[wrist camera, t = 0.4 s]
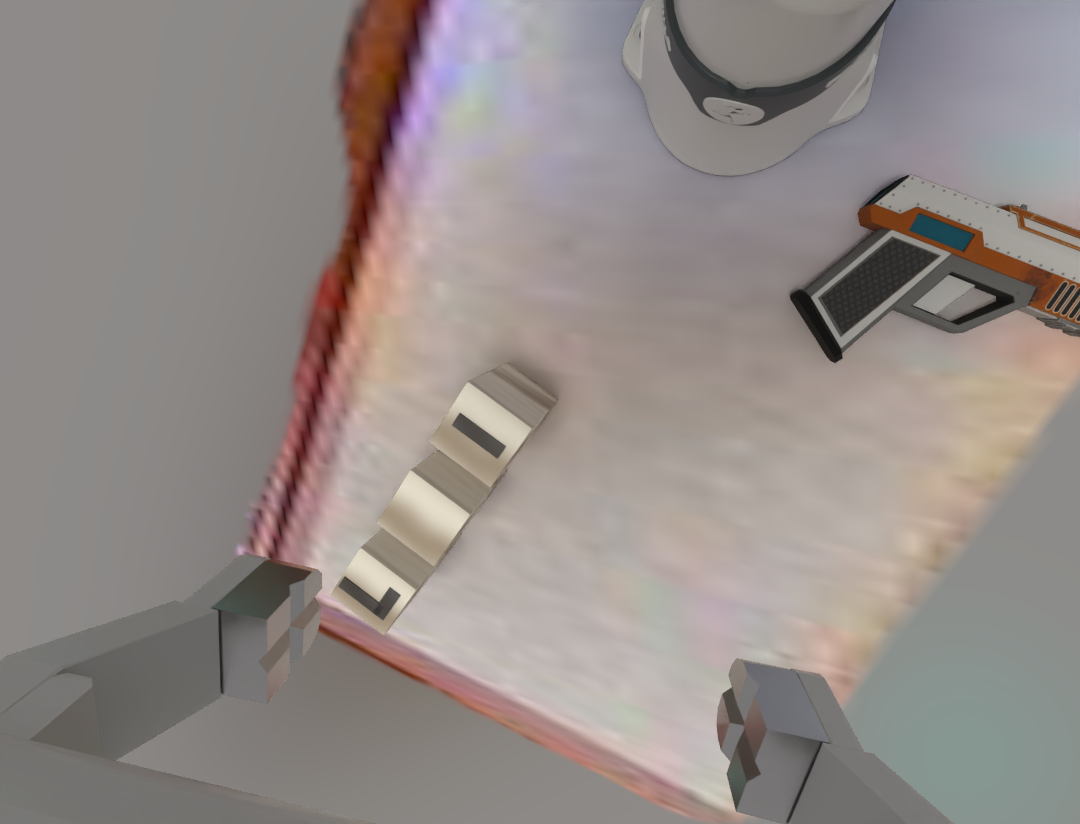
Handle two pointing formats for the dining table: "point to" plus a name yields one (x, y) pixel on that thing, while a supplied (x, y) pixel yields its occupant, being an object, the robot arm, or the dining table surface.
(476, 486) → the plain block
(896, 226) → the toy gun
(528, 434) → the block one
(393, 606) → the block seven
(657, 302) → the dining table surface
